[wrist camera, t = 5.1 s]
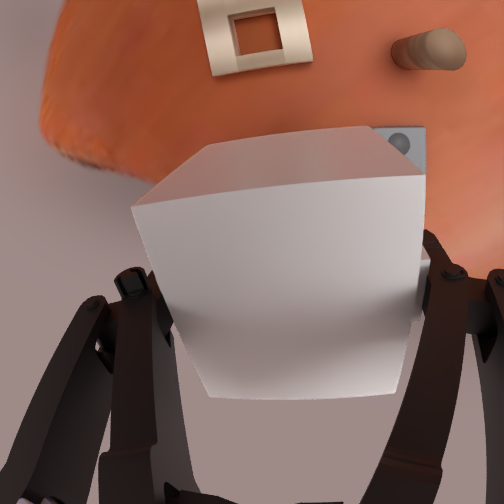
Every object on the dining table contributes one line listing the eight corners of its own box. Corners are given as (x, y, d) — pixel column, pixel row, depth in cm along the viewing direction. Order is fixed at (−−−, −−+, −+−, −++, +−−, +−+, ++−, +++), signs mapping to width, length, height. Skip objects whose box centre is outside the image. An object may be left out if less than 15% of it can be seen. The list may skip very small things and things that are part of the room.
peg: (388, 38, 23) (424, 26, 15) (418, 40, 22) (463, 30, 14) (393, 69, 25) (430, 68, 16) (422, 70, 24) (468, 72, 16)
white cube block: (207, 144, 15) (130, 206, 9) (368, 125, 14) (425, 175, 7) (241, 289, 20) (209, 397, 13) (372, 280, 18) (395, 392, 11)
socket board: (198, -33, 21) (188, -42, 19) (287, -51, 19) (285, -62, 17) (220, 76, 28) (212, 76, 25) (312, 62, 26) (313, 60, 23)
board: (367, 127, 28) (377, 136, 24) (422, 125, 27) (440, 135, 23) (371, 192, 32) (380, 211, 28) (422, 189, 30) (438, 208, 26)
